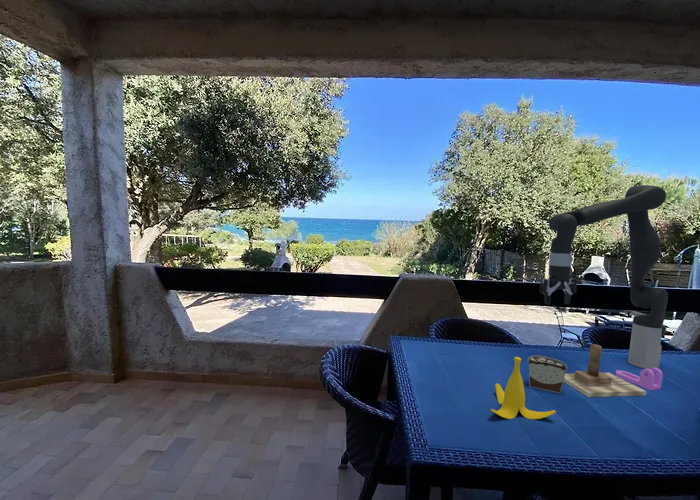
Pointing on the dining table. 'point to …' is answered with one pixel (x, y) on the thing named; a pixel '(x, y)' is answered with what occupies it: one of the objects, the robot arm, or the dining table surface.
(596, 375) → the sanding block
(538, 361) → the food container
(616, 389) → the pine board
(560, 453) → the dining table surface
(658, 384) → the bracket
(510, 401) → the banana peel
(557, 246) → the robot arm
